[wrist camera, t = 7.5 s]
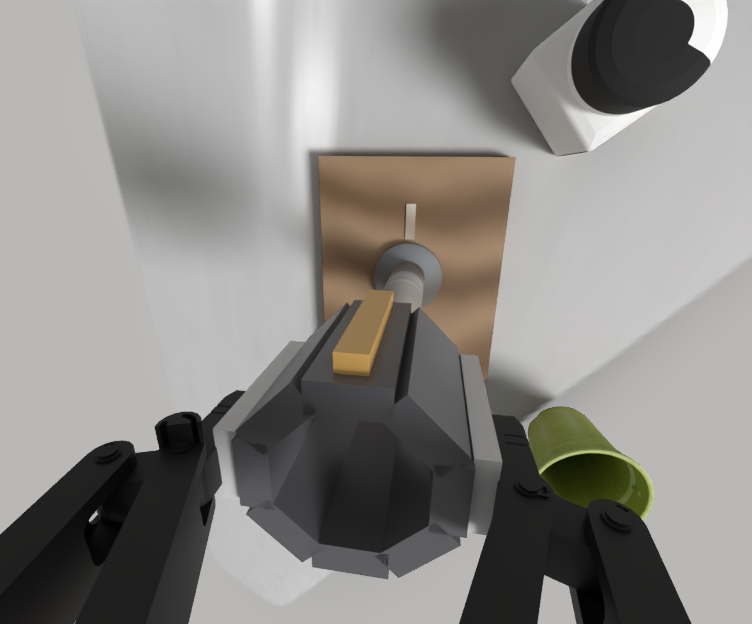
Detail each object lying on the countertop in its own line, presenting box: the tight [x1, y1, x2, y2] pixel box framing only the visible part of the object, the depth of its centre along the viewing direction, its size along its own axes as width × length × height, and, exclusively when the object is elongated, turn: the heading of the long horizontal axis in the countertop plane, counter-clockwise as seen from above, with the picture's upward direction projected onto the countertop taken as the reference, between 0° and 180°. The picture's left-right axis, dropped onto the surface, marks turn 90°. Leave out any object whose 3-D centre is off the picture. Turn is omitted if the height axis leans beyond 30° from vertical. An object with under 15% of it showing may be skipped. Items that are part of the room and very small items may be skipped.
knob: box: [231, 290, 475, 579], centre depth 14 cm, size 7×8×7 cm
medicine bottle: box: [511, 0, 728, 156], centre depth 23 cm, size 7×7×12 cm
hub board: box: [318, 156, 516, 380], centre depth 31 cm, size 20×16×10 cm
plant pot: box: [528, 407, 654, 520], centre depth 35 cm, size 9×9×9 cm
